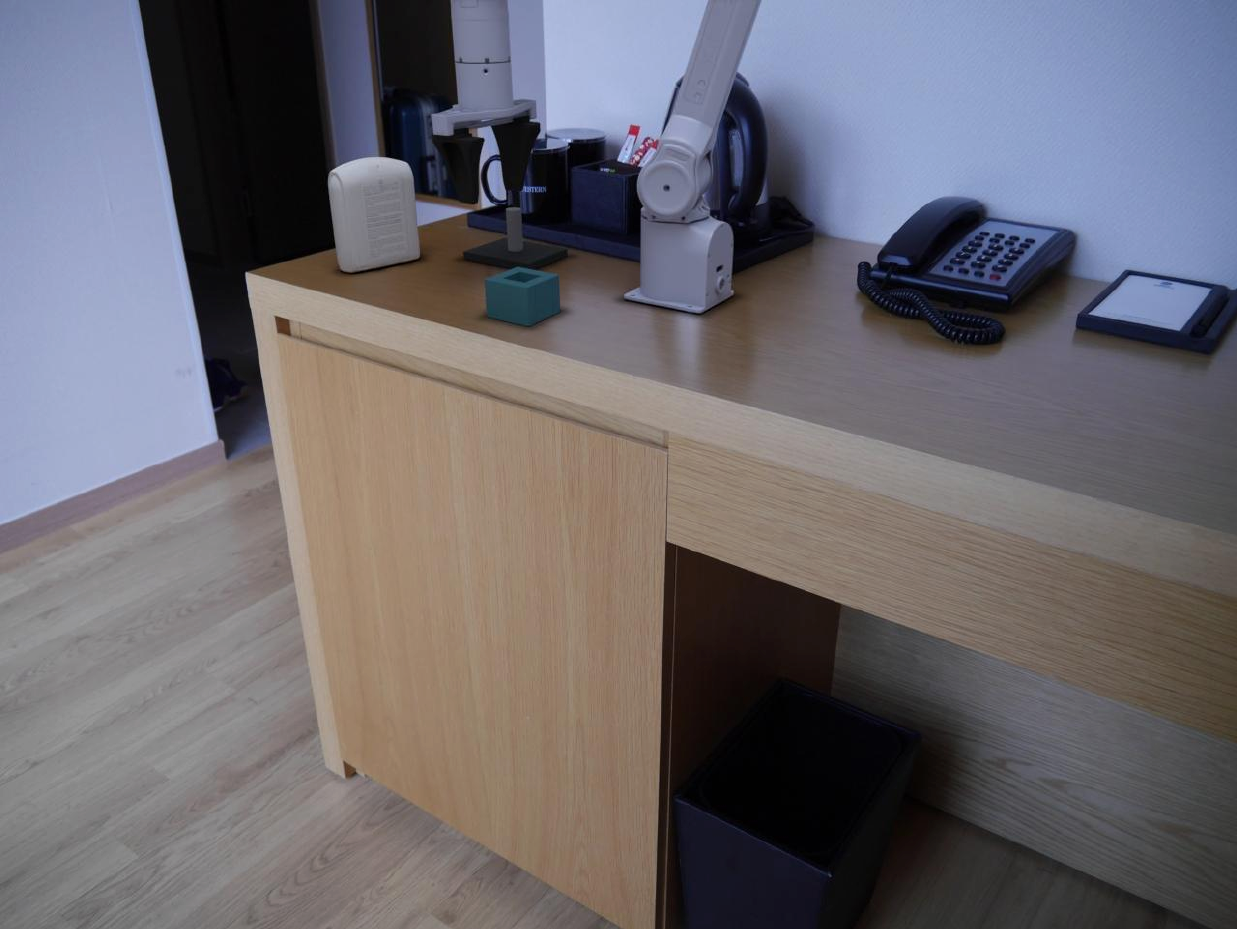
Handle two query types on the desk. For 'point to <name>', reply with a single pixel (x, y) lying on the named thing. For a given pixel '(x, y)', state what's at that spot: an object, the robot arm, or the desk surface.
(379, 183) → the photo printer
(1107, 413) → the desk surface
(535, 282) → the teal block with hole
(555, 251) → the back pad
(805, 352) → the desk surface
